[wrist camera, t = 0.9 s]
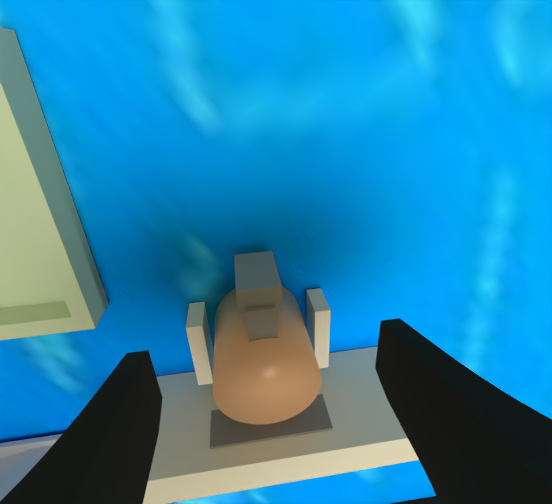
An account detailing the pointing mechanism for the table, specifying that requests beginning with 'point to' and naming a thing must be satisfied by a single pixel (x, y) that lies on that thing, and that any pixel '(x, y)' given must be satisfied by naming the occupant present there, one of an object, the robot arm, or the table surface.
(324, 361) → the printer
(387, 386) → the robot arm
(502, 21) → the table surface
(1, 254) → the tray
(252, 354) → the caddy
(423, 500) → the disk drive
